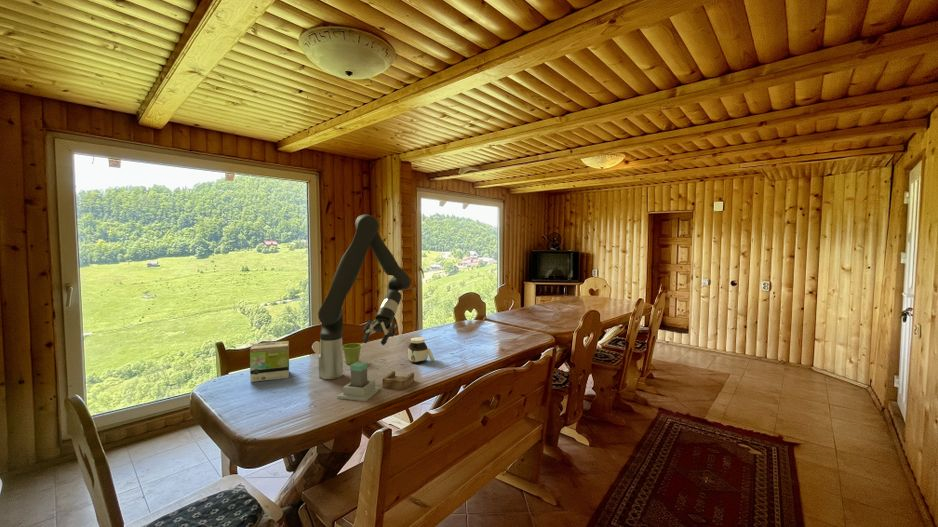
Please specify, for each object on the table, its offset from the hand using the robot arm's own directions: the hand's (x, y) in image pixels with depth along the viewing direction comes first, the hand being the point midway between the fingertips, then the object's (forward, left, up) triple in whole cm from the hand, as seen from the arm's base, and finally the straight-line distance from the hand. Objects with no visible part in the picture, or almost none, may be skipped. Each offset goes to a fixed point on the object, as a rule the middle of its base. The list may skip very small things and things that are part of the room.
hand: (373, 343), depth 159 cm
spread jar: (+9, +33, -18) cm, 39 cm away
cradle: (+10, +2, -18) cm, 20 cm away
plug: (-1, -10, -17) cm, 20 cm away
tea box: (-49, -3, -18) cm, 52 cm away
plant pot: (-24, +23, -18) cm, 38 cm away
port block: (-1, -11, -18) cm, 20 cm away
